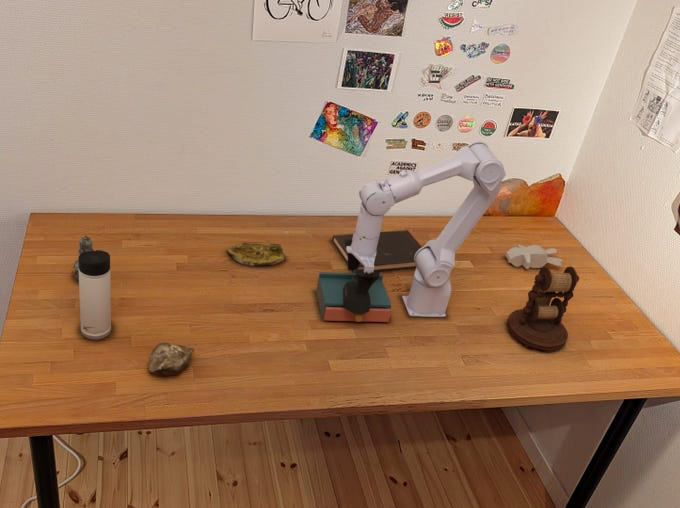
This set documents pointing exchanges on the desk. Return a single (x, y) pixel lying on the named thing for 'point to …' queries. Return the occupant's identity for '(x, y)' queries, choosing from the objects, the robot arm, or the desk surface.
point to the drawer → (344, 315)
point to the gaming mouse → (355, 299)
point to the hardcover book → (387, 250)
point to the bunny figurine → (532, 256)
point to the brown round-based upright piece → (544, 310)
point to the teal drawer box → (333, 291)
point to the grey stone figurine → (84, 246)
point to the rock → (169, 358)
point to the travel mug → (95, 294)
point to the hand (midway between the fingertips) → (356, 281)
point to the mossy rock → (256, 254)
